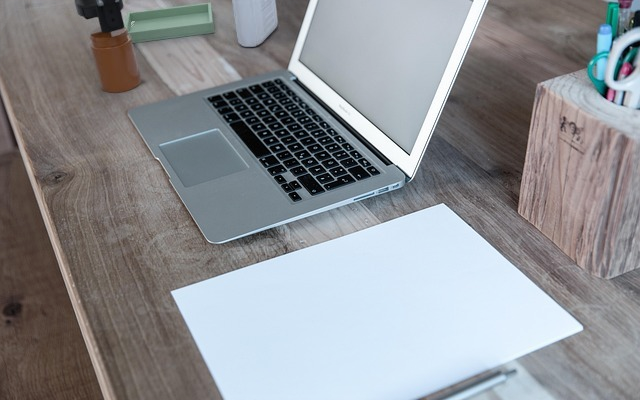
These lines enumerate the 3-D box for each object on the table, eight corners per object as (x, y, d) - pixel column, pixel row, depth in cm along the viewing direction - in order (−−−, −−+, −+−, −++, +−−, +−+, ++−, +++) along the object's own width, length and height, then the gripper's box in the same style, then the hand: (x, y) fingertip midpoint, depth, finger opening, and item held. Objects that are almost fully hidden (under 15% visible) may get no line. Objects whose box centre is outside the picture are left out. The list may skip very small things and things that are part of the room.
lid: (101, 20, 97) (98, 8, 96) (67, 14, 100) (64, 2, 99) (133, 4, 102) (130, -8, 101) (99, -1, 105) (97, -13, 104)
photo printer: (258, 23, 124) (249, -49, 117) (281, 25, 123) (273, -48, 116) (235, 47, 116) (223, -28, 109) (259, 49, 115) (249, -28, 108)
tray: (125, 44, 121) (122, 33, 120) (129, 22, 129) (126, 12, 128) (214, 32, 122) (212, 22, 121) (212, 12, 130) (211, 2, 129)
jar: (99, 95, 105) (85, 41, 100) (103, 78, 110) (89, 26, 105) (140, 89, 106) (127, 36, 101) (142, 72, 111) (129, 21, 106)
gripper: (124, -105, 88) (152, 33, 98) (77, -123, 100) (107, 1, 110) (65, -93, 84) (100, 48, 95) (24, -114, 96) (59, 14, 107)
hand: (103, 22), depth 102 cm, fingers closed on lid, 6 cm apart
